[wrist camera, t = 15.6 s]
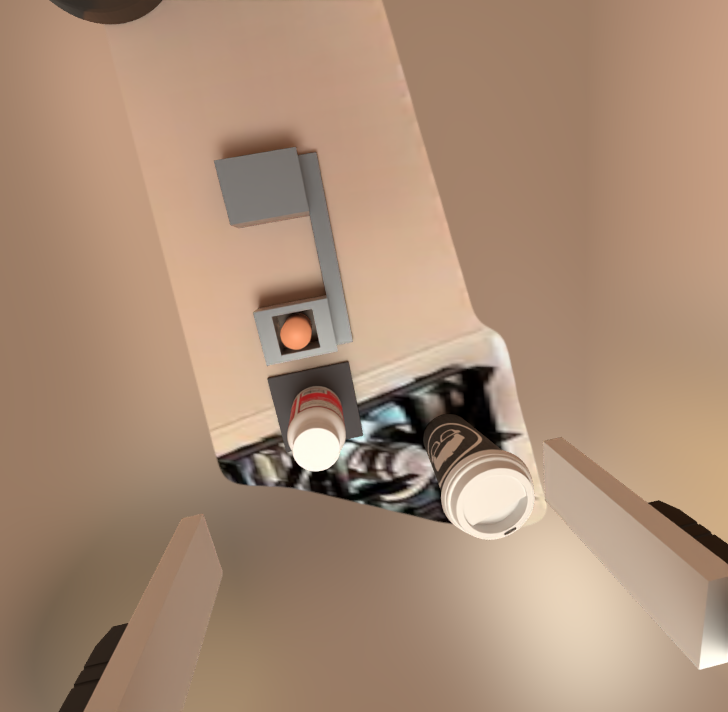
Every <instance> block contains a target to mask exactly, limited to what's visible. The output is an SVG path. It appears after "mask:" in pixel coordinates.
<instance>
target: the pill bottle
mask: <svg viewBox="0 0 728 712" xmlns="http://www.w3.org/2000/svg"><path fill="white" fill-rule="evenodd" d="M287 438H288V443H289V446H290V448H291V450H292V452H293V456H294V459H295V460H296V462H297V463H298V464H299V465H300V466H301V467H303V468H304V469H307V470H310V471H321V470H325V469H327V468H329V467H330V466H332V465H333V464H334V463H335V462H336V460H337V459H338V457H339V454H340V450H341V449H342V447H343V445H344V443H345V438H346V431H345V424H344V418H343V412H342V406H341V402H340V400H339V398H338V396H337V395H336V394H335V393H334V392H333V391H332V390H330V389H328V388H326V387H322V386H313V387H309V388H306V389H304V390H303V391H301V392H300V393H299V394H298V395H297V396H296V398H295V400H294V402H293V405H292V409H291V415H290V421H289V426H288V433H287Z"/></svg>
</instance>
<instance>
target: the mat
mask: <svg viewBox="0 0 728 712" xmlns="http://www.w3.org/2000/svg"><path fill="white" fill-rule="evenodd" d="M268 383H269V387H270V391H271V395H272V399H273V402H274V406H275V410H276V414H277V418H278V422H279V425H280V429H281V433H282V437H283V441H284V445H285V448H286V452H290V451H292V450H291V448H290V446H289V443H288V438H287V433H288V426H289V421H290V415H291V409H292V405H293V402H294V400H295V398H296V396H297V395H298V394H299V393H300V392H301V391H303V390H304V389H306V388H309V387H313V386H322V387H326V388H328V389H330V390H332V391H333V392H334V393H335V394H336V395H337V396H338V398H339V400H340V402H341V406H342V412H343V418H344V424H345V431H346V438H345V439H350V438H354V437H359V436H363V433H362V428H361V423H360V418H359V413H358V408H357V403H356V398H355V393H354V388H353V383H352V378H351V373H350V367H349V362H343V363H338V364H334V365H329V366H324V367H319V368H314V369H309V370H304V371H299V372H295V373H290V374H285V375H280V376H275V377H270V378H268Z"/></svg>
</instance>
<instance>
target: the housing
mask: <svg viewBox="0 0 728 712" xmlns="http://www.w3.org/2000/svg"><path fill="white" fill-rule="evenodd" d="M214 163H215V167H216V171H217V175H218V179H219V183H220V186H221V190H222V194H223V198H224V202H225V206H226V210H227V214H228V217H229V221H230V225H231V226H234V227H237V228H243V227H248V226H254V225H259V224H265V223H270V222H276V221H281V220H287V219H293V218H298V217H304V216H309V215H310V218H311V223H312V228H313V233H314V238H315V243H316V247H317V252H318V257H319V262H320V267H321V272H322V277H323V281H324V286H325V291H326V295H324V296H319V297H314V298H308V299H303V300H298V301H293V302H288V303H283V304H277V305H272V306H267V307H262V308H258V309H257V310H256V311H255V312H253V314H254V318H255V322H256V326H257V330H258V334H259V337H260V341H261V345H262V349H263V353H264V357H265V361H266V365H267V366H268V365H273V364H278V363H283V362H288V361H293V360H298V359H302V358H307V357H312V356H317V355H322V354H327V353H332V352H337V351H338V350H337V345H340V344H345V343H350V342H353V340H352V335H351V329H350V324H349V319H348V314H347V309H346V304H345V298H344V293H343V288H342V283H341V278H340V273H339V267H338V262H337V257H336V252H335V247H334V242H333V236H332V231H331V226H330V221H329V216H328V211H327V205H326V200H325V195H324V190H323V185H322V180H321V174H320V169H319V164H318V159H317V154H316V152H314V153H309V154H303V155H297V150H296V147H292V148H286V149H280V150H274V151H268V152H262V153H256V154H250V155H245V156H239V157H233V158H227V159H221V160H215V161H214ZM309 309H312V311H313V316H314V320H315V325H316V329H317V334H318V339H319V341H315V342H310V343H308V344H307V345H306V346H305V347H304V348H302V349H297V350H295V349H290V348H288V347H285V348H284V344H283V342H282V340H281V336H280V332H281V331H280V327H279V323H278V319H277V316H278V315H283V314H288V313H293V312H298V311H304V310H309Z"/></svg>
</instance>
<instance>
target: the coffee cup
mask: <svg viewBox="0 0 728 712" xmlns="http://www.w3.org/2000/svg"><path fill="white" fill-rule="evenodd" d="M423 442H424V446H425V448H426V451H427V454H428V456H429V459H430V462H431V464H432V467H433V470H434V472H435V475H436V478H437V481H438V483H439V486H440V489H441V491H442V494H441V501H442V507H443V510H444V512H445V514H446V516H447V517H448V519H449V520H450V521H451V522H452V523H453V524H454V525H455V526H456V527H457V528H459V529H461V530H462V531H464V532H466V533H468V534H470V535H472V536H474V537H477V538H480V539H487V540H493V539H499V538H503V537H506V536H508V535H510V534H512V533H513V532H515V531H517V530H518V529H519V528H520V527H521V526H522V525H523V524H524V523H525V522H526V521H527V519H528V518H529V516H530V514H531V512H532V510H533V506H534V500H535V496H534V487H533V481H532V477H531V475H530V472H529V470H528V468H527V467H526V465H525V464H524V462H523V461H522V460H521V459H519V458H518V457H517V456H515V455H514V454H512V453H509V452H506V451H503V450H501V449H500V448H499V447H497V446H496V445H495V444H494V443H492V442H491V441H490V440H489V439H487V438H486V437H485V436H484V435H482V434H481V433H480V432H479V431H477V430H476V429H475V428H474V427H473V426H471V425H470V424H469V423H468V422H466V421H465V420H464V419H463V418H461V417H459V416H457V415H453V414H445V415H441V416H438V417H436V418H435V419H433V420H432V421H431V422H430V423H429V424H428V426H427V427H426V429H425V432H424V436H423Z"/></svg>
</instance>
